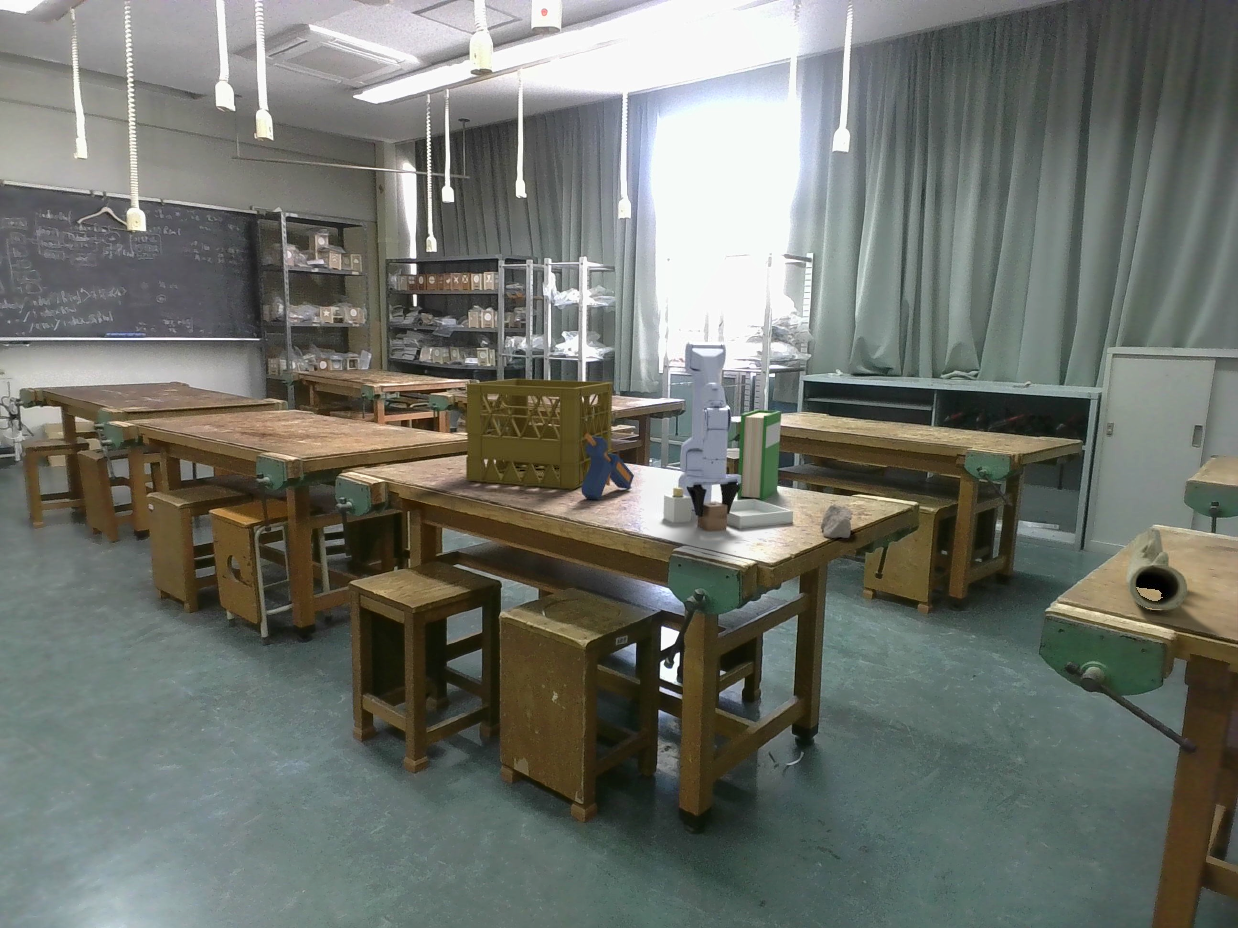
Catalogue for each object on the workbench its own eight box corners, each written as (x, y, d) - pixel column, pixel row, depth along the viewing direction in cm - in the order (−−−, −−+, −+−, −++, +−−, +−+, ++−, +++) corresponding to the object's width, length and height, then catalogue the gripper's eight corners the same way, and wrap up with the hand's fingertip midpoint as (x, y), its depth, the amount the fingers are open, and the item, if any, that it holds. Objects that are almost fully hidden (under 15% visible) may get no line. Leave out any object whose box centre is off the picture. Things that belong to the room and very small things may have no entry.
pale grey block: (663, 518, 198) (664, 487, 197) (680, 516, 201) (681, 485, 199) (673, 522, 194) (674, 490, 193) (691, 521, 196) (692, 489, 195)
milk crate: (466, 482, 242) (465, 384, 237) (515, 465, 276) (515, 378, 271) (574, 490, 232) (575, 388, 227) (611, 472, 265) (613, 382, 261)
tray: (703, 514, 203) (703, 503, 203) (753, 509, 210) (754, 498, 210) (739, 528, 189) (740, 516, 189) (792, 522, 196) (793, 511, 196)
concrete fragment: (818, 538, 183) (820, 512, 182) (822, 524, 196) (823, 500, 195) (850, 540, 181) (852, 514, 180) (852, 527, 194) (853, 502, 193)
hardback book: (762, 501, 222) (767, 416, 218) (737, 498, 225) (741, 414, 221) (777, 490, 238) (781, 411, 234) (752, 488, 241) (756, 409, 237)
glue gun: (623, 526, 233) (638, 481, 238) (585, 478, 207) (604, 429, 213) (604, 522, 235) (620, 478, 241) (565, 475, 210) (584, 427, 216)
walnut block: (697, 527, 190) (698, 502, 189) (714, 525, 192) (715, 500, 191) (708, 531, 186) (709, 506, 185) (726, 529, 188) (727, 504, 187)
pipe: (1185, 620, 132) (1193, 562, 130) (1126, 612, 135) (1133, 555, 134) (1154, 576, 157) (1161, 527, 155) (1105, 570, 160) (1111, 522, 159)
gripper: (697, 462, 180) (695, 520, 182) (749, 459, 186) (747, 515, 188) (681, 457, 186) (679, 514, 188) (732, 455, 192) (730, 509, 194)
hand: (712, 514), depth 188 cm, fingers open, 7 cm apart
